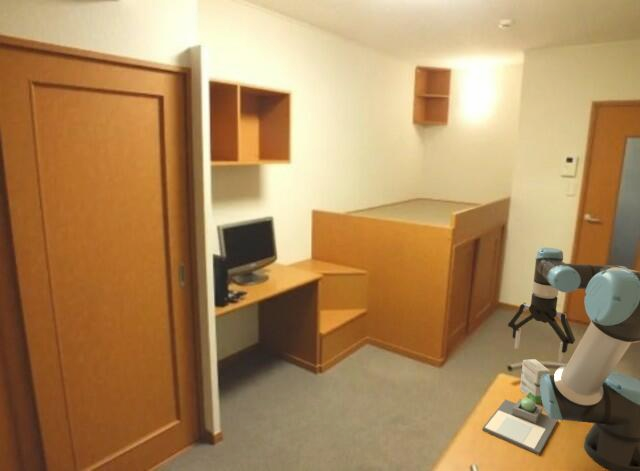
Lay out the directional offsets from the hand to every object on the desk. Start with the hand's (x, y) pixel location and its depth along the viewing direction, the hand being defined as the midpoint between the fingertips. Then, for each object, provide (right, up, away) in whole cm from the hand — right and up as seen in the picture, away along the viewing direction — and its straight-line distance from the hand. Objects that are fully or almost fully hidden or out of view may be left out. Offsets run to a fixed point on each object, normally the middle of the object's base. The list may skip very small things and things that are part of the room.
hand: (537, 353), depth 145 cm
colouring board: (-12, -19, -13) cm, 26 cm away
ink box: (0, -16, +3) cm, 16 cm away
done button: (-8, -15, -9) cm, 19 cm away
